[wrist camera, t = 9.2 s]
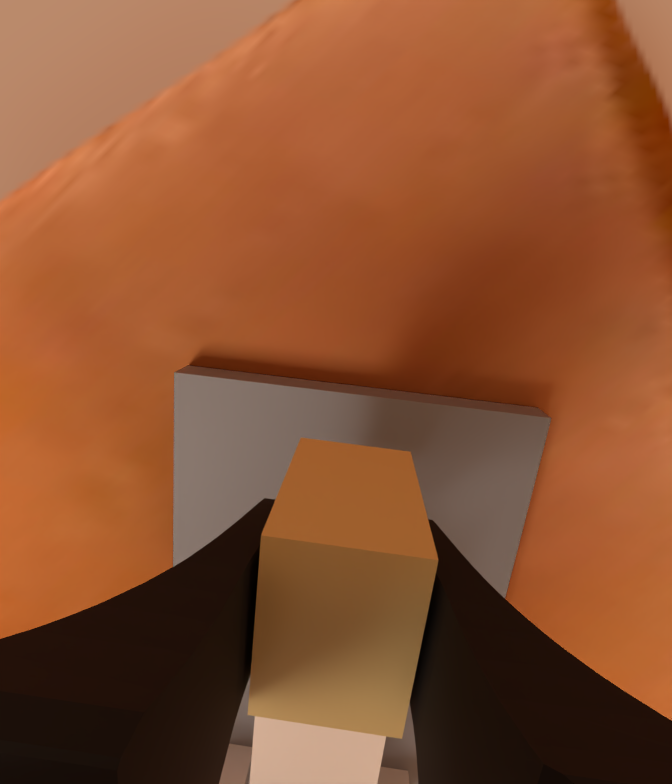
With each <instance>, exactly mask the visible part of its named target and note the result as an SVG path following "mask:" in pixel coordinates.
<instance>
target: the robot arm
mask: <svg viewBox="0 0 672 784" xmlns="http://www.w3.org/2000/svg"><path fill="white" fill-rule="evenodd" d="M274 502H275V499H268V498H264V499H263V500H262V501H260V502H259V503H258V504H257V505H255V506H254V507H253V508H252V509H251V510H250V511H248V512H247V513H246V514H245V515H244V516H243V517H241V518H240V519H239V520H238V521H237V522H235V523H234V524H233V525H232V526H230V527H229V528H228V529H227V530H225V531H224V532H223V533H222V534H220V535H219V536H218V537H217V538H215V539H214V540H213V541H211V542H210V543H208V544H207V545H206V546H204V547H203V548H201V549H200V550H198V551H197V552H196V553H194V554H193V555H191V556H190V557H188V558H187V559H185V560H184V561H182V562H180V563H179V564H177V565H176V566H174V567H172V568H170V569H169V570H167V571H165V572H163V573H162V574H160V575H158V576H156V577H154V578H153V579H151V580H149V581H147V582H145V583H143V584H141V585H139V586H137V587H134V588H132V589H130V590H128V591H126V592H124V593H122V594H120V595H117V596H115V597H113V598H111V599H109V600H107V601H105V602H103V603H100V604H98V605H95V606H93V607H90V608H88V609H86V610H83V611H81V612H78V613H76V614H73V615H70V616H68V617H65V618H62V619H60V620H57V621H54V622H51V623H49V624H46V625H43V626H40V627H37V628H34V629H31V630H28V631H25V632H22V633H19V634H15V635H12V636H9V637H5V638H2V639H0V784H219V782H220V778H221V774H222V770H223V766H224V762H225V758H226V754H227V750H228V747H229V743H230V739H231V735H232V731H233V727H234V723H235V720H236V717H237V713H238V710H239V707H240V704H241V701H242V698H243V695H244V692H245V689H246V686H247V683H248V681H249V678H250V675H251V663H252V649H253V636H254V622H255V609H256V596H257V582H258V569H259V556H260V542H261V534H262V532H263V529H264V527H265V524H266V522H267V519H268V517H269V515H270V512H271V510H272V507H273V505H274ZM428 521H429V525H430V529H431V533H432V537H433V540H434V544H435V548H436V552H437V556H438V565H437V570H436V575H435V580H434V585H433V590H432V595H431V599H430V604H429V609H428V614H427V619H426V624H425V629H424V634H423V639H422V643H421V648H420V653H419V658H418V663H417V668H416V673H415V678H414V683H413V688H412V692H411V697H410V708H411V714H412V720H413V728H414V736H415V744H416V756H417V770H418V784H672V721H671V720H669V719H668V718H666V717H664V716H663V715H661V714H659V713H658V712H656V711H655V710H653V709H652V708H650V707H648V706H647V705H645V704H644V703H642V702H640V701H639V700H637V699H636V698H634V697H632V696H631V695H629V694H628V693H626V692H624V691H623V690H621V689H620V688H618V687H617V686H616V685H614V684H613V683H611V682H610V681H608V680H607V679H605V678H604V677H602V676H601V675H599V674H598V673H596V672H595V671H594V670H592V669H591V668H589V667H588V666H587V665H585V664H584V663H583V662H581V661H580V660H578V659H577V658H576V657H574V656H573V655H572V654H570V653H569V652H567V651H566V650H565V649H563V648H562V647H561V646H560V645H558V644H557V643H556V642H554V641H553V640H552V639H551V638H549V637H548V636H547V635H546V634H544V633H543V632H542V631H541V630H540V629H538V628H537V627H536V626H535V625H534V624H533V623H531V622H530V621H529V620H528V619H527V618H525V617H524V616H523V615H522V614H521V613H520V612H519V611H517V610H516V609H515V608H514V607H513V606H512V605H511V604H510V603H509V602H508V601H507V600H506V599H505V598H504V597H503V596H501V595H500V594H499V593H498V592H497V591H496V590H495V589H494V588H493V587H492V586H491V585H490V584H489V583H488V582H487V581H486V580H485V579H484V578H483V576H482V575H481V574H480V573H479V572H478V571H477V570H476V569H475V568H474V567H473V566H472V565H471V564H470V562H469V561H468V560H467V559H466V558H465V557H464V556H463V555H462V553H461V552H460V551H459V550H458V549H457V548H456V546H455V545H454V544H453V543H452V542H451V541H450V539H449V538H448V537H447V536H446V535H445V533H444V532H443V531H442V530H441V529H440V528H439V526H438V525H437V524H436V523H435V522H434V521H433V520H430V519H428Z"/></svg>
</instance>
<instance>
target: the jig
mask: <svg viewBox="0 0 672 784" xmlns="http://www.w3.org/2000/svg"><path fill="white" fill-rule="evenodd" d="M550 422H551V417H549V416H548V415H547V414H545V413H544V412H543V411H541V410H540V409H539V408H537V407H529V406H520V405H512V404H504V403H496V402H487V401H479V400H471V399H462V398H454V397H446V396H438V395H429V394H421V393H413V392H404V391H396V390H388V389H379V388H371V387H363V386H355V385H346V384H338V383H330V382H321V381H313V380H305V379H297V378H288V377H280V376H272V375H263V374H255V373H247V372H239V371H230V370H222V369H214V368H205V367H197V366H189V365H188V366H186V367H184V368H182V369H180V370H178V371H176V372H174V506H173V567H174V566H176V565H177V564H179V563H180V562H182V561H184V560H185V559H187V558H188V557H190V556H191V555H193V554H194V553H196V552H197V551H198V550H200V549H201V548H203V547H204V546H206V545H207V544H208V543H210V542H211V541H213V540H214V539H215V538H217V537H218V536H219V535H220V534H222V533H223V532H224V531H225V530H227V529H228V528H229V527H230V526H232V525H233V524H234V523H235V522H237V521H238V520H239V519H240V518H241V517H243V516H244V515H245V514H246V513H247V512H248V511H250V510H251V509H252V508H253V507H254V506H255V505H257V504H258V503H259V502H260V501H262V500H263V499H264V498H268V499H275V500H276V497H277V495H278V492H279V490H280V488H281V485H282V483H283V480H284V478H285V475H286V473H287V470H288V468H289V465H290V463H291V461H292V458H293V456H294V453H295V451H296V448H297V446H298V443H299V441H300V438H309V439H317V440H324V441H332V442H340V443H347V444H355V445H363V446H370V447H378V448H386V449H393V450H401V451H409V452H411V455H412V459H413V463H414V467H415V471H416V475H417V478H418V482H419V486H420V490H421V494H422V498H423V502H424V506H425V509H426V513H427V517H428V519H430V520H433V521H434V522H435V523H436V524H437V525H438V526H439V528H440V529H441V530H442V531H443V532H444V533H445V535H446V536H447V537H448V538H449V539H450V541H451V542H452V543H453V544H454V545H455V546H456V548H457V549H458V550H459V551H460V552H461V553H462V555H463V556H464V557H465V558H466V559H467V560H468V561H469V562H470V564H471V565H472V566H473V567H474V568H475V569H476V570H477V571H478V572H479V573H480V574H481V575H482V576H483V578H484V579H485V580H486V581H487V582H488V583H489V584H490V585H491V586H492V587H493V588H494V589H495V590H496V591H497V592H498V593H499V594H500V595H501V596H503V597H504V598H505V597H506V593H507V589H508V585H509V581H510V577H511V573H512V570H513V566H514V562H515V558H516V554H517V550H518V546H519V542H520V538H521V535H522V531H523V527H524V523H525V519H526V515H527V511H528V507H529V503H530V500H531V496H532V492H533V488H534V484H535V480H536V476H537V472H538V468H539V464H540V461H541V457H542V453H543V449H544V445H545V441H546V437H547V433H548V429H549V426H550ZM250 676H251V675H250ZM249 689H250V678H249V681H248V683H247V686H246V689H245V692H244V695H243V698H242V701H241V704H240V707H239V710H238V713H237V717H236V720H235V723H234V727H233V731H232V735H231V739H230V743H229V747H228V750H227V754H226V758H225V762H224V766H223V770H222V774H221V778H220V782H219V784H250V771H251V758H252V745H253V733H254V720H255V716H251V715H248V703H249ZM377 784H418V770H417V756H416V744H415V736H414V728H413V720H412V714H411V708H410V702H409V707H408V712H407V717H406V722H405V727H404V732H403V736H402V739H400V738H393V737H387V736H386V740H385V745H384V751H383V756H382V761H381V766H380V772H379V777H378V782H377Z"/></svg>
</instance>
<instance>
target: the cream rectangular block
mask: <svg viewBox="0 0 672 784" xmlns="http://www.w3.org/2000/svg"><path fill="white" fill-rule="evenodd" d="M385 740H386V736H380V735H374V734H367V733H361V732H354V731H348V730H341V729H335V728H329V727H322V726H316V725H309V724H303V723H296V722H290V721H283V720H277V719H270V718H264V717H257V716H255V720H254V733H253V745H252V758H251V771H250V784H377V782H378V777H379V772H380V766H381V761H382V756H383V751H384V745H385Z"/></svg>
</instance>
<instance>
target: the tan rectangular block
mask: <svg viewBox="0 0 672 784" xmlns="http://www.w3.org/2000/svg"><path fill="white" fill-rule="evenodd" d="M437 565H438V556H437V552H436V548H435V544H434V540H433V537H432V533H431V529H430V525H429V521H428V517H427V513H426V509H425V506H424V502H423V498H422V494H421V490H420V486H419V482H418V478H417V475H416V471H415V467H414V463H413V459H412V455H411V452H409V451H401V450H393V449H386V448H378V447H370V446H363V445H355V444H347V443H340V442H332V441H324V440H317V439H309V438H300V441H299V443H298V446H297V448H296V451H295V453H294V456H293V458H292V461H291V463H290V465H289V468H288V470H287V473H286V475H285V478H284V480H283V483H282V485H281V488H280V490H279V492H278V495H277V497H276V500H275V502H274V505H273V507H272V510H271V512H270V515H269V517H268V519H267V522H266V524H265V527H264V529H263V532H262V534H261V542H260V556H259V569H258V582H257V596H256V609H255V622H254V636H253V649H252V663H251V676H250V689H249V703H248V715H251V716H257V717H264V718H270V719H277V720H283V721H290V722H296V723H303V724H309V725H316V726H322V727H329V728H335V729H341V730H348V731H354V732H361V733H367V734H374V735H380V736H387V737H393V738H400V739H402V736H403V732H404V727H405V722H406V717H407V712H408V707H409V702H410V697H411V692H412V688H413V683H414V678H415V673H416V668H417V663H418V658H419V653H420V648H421V643H422V639H423V634H424V629H425V624H426V619H427V614H428V609H429V604H430V599H431V595H432V590H433V585H434V580H435V575H436V570H437Z"/></svg>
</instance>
